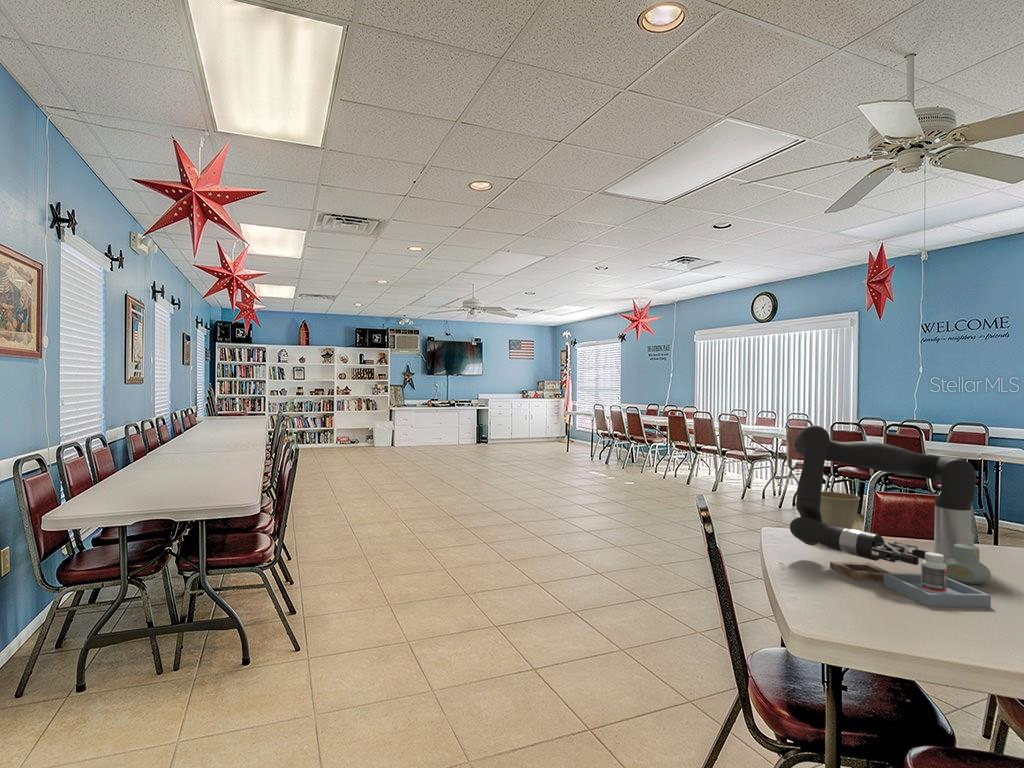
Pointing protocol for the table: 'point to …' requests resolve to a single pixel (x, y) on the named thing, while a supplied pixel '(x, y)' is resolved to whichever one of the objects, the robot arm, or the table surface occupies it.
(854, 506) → the plant pot
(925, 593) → the slate tray
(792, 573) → the table surface
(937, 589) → the pill bottle
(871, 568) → the walnut socket
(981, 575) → the air freshener
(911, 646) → the table surface
